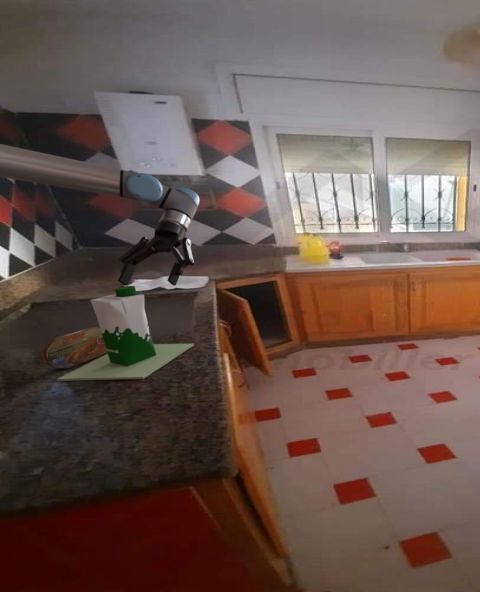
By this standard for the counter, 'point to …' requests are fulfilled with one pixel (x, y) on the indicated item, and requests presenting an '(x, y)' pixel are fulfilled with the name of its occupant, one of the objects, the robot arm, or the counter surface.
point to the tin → (74, 348)
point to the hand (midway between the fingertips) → (147, 283)
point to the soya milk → (124, 326)
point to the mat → (140, 370)
